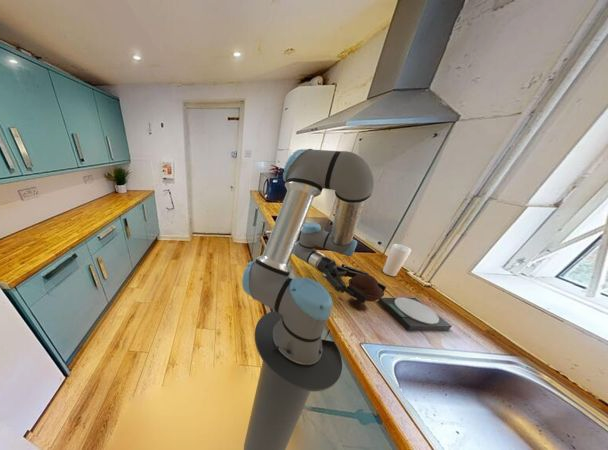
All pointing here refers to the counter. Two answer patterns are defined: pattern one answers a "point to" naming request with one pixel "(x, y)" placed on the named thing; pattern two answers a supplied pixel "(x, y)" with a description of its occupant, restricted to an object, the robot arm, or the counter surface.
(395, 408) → the counter surface
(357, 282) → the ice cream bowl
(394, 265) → the drinking glass
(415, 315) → the kitchen scale
